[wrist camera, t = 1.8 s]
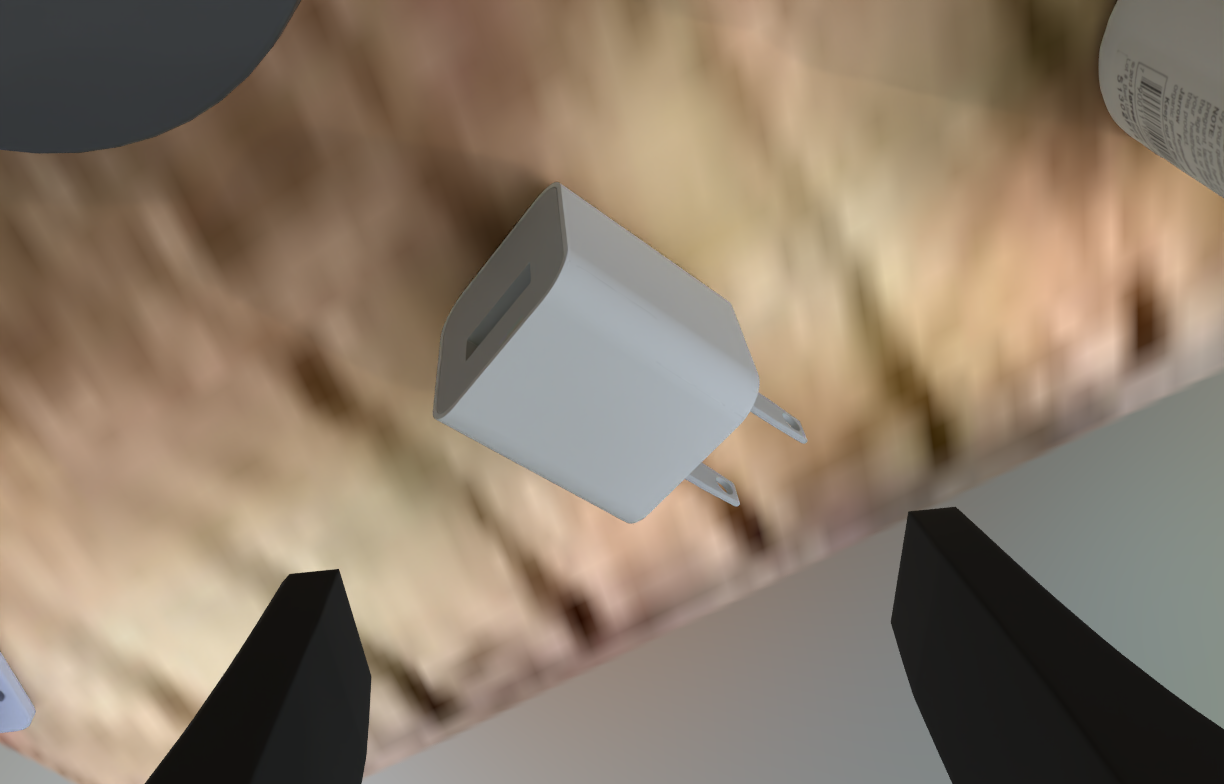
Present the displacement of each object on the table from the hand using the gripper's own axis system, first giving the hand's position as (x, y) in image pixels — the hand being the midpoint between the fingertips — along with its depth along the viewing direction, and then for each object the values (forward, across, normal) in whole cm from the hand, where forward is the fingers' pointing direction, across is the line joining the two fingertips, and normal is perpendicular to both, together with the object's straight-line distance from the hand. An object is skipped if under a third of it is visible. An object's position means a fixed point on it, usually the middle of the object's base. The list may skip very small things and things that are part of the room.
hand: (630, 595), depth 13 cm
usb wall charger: (+9, -1, +2) cm, 9 cm away
